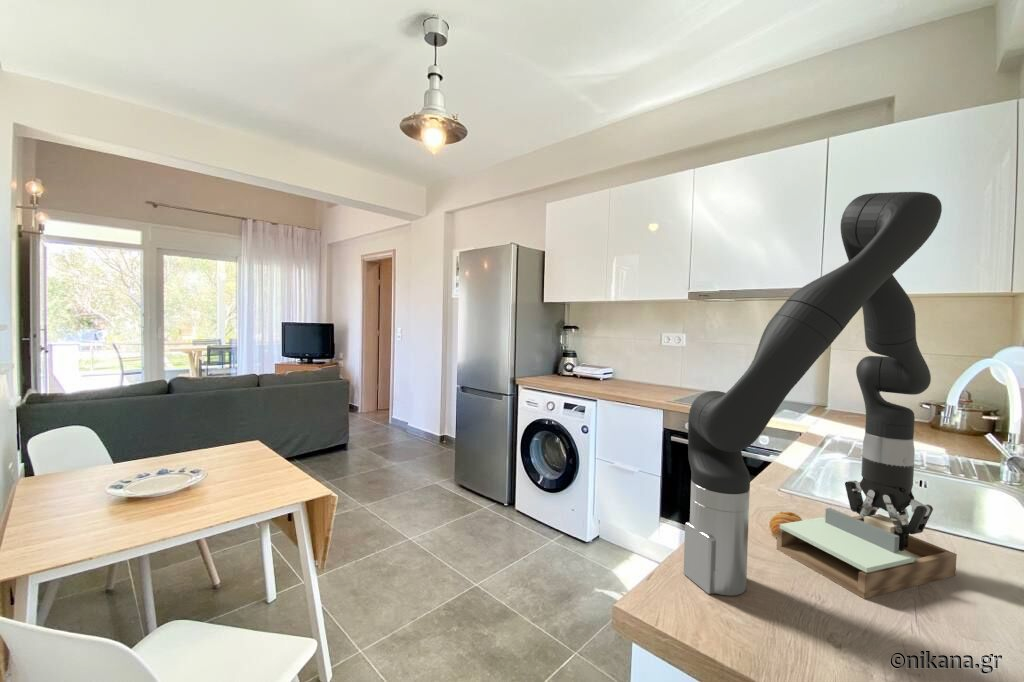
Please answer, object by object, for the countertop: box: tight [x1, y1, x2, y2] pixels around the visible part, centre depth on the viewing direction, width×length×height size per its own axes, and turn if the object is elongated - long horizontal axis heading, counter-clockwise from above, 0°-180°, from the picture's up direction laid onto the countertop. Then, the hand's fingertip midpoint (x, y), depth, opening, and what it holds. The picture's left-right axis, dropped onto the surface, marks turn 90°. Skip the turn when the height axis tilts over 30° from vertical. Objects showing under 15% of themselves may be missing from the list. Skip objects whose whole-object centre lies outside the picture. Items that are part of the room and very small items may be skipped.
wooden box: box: [776, 515, 957, 600], centre depth 80 cm, size 24×16×4 cm, turn 107°
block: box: [864, 513, 896, 534], centre depth 81 cm, size 4×4×5 cm
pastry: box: [768, 511, 803, 539], centre depth 90 cm, size 9×7×4 cm
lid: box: [780, 507, 915, 573], centre depth 78 cm, size 12×16×4 cm
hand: (883, 543), depth 81 cm, fingers closed on block, 4 cm apart
